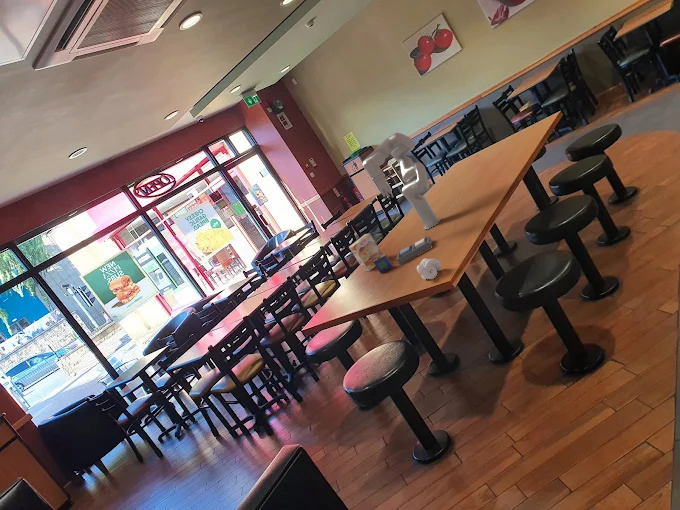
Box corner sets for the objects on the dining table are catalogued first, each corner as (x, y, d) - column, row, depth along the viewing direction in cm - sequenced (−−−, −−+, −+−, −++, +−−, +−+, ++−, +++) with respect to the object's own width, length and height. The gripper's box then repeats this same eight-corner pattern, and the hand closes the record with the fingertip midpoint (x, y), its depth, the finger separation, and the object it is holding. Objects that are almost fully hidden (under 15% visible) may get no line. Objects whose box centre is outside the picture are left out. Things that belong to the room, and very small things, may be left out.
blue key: (403, 254, 306) (400, 250, 305) (411, 250, 304) (409, 246, 303) (402, 258, 300) (399, 254, 300) (411, 253, 298) (408, 249, 298)
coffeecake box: (369, 271, 326) (352, 246, 322) (364, 271, 333) (347, 247, 329) (386, 257, 331) (369, 232, 327) (380, 258, 338) (364, 233, 334)
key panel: (401, 257, 310) (398, 252, 309) (432, 241, 303) (428, 235, 302) (400, 265, 299) (396, 259, 298) (431, 248, 292) (428, 242, 291)
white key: (417, 247, 302) (415, 242, 302) (426, 242, 300) (424, 237, 300) (417, 250, 297) (414, 246, 296) (426, 245, 295) (423, 241, 294)
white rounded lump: (439, 279, 243) (429, 263, 241) (419, 287, 250) (409, 272, 248) (446, 267, 251) (436, 252, 250) (426, 275, 259) (416, 260, 257)
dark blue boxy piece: (394, 265, 305) (384, 251, 303) (393, 267, 303) (383, 253, 301) (381, 272, 309) (371, 258, 307) (380, 274, 306) (370, 260, 304)
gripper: (375, 178, 313) (391, 203, 316) (371, 183, 299) (388, 210, 303) (385, 171, 310) (401, 197, 314) (382, 177, 296) (399, 203, 300)
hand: (395, 203), depth 308 cm, fingers closed
